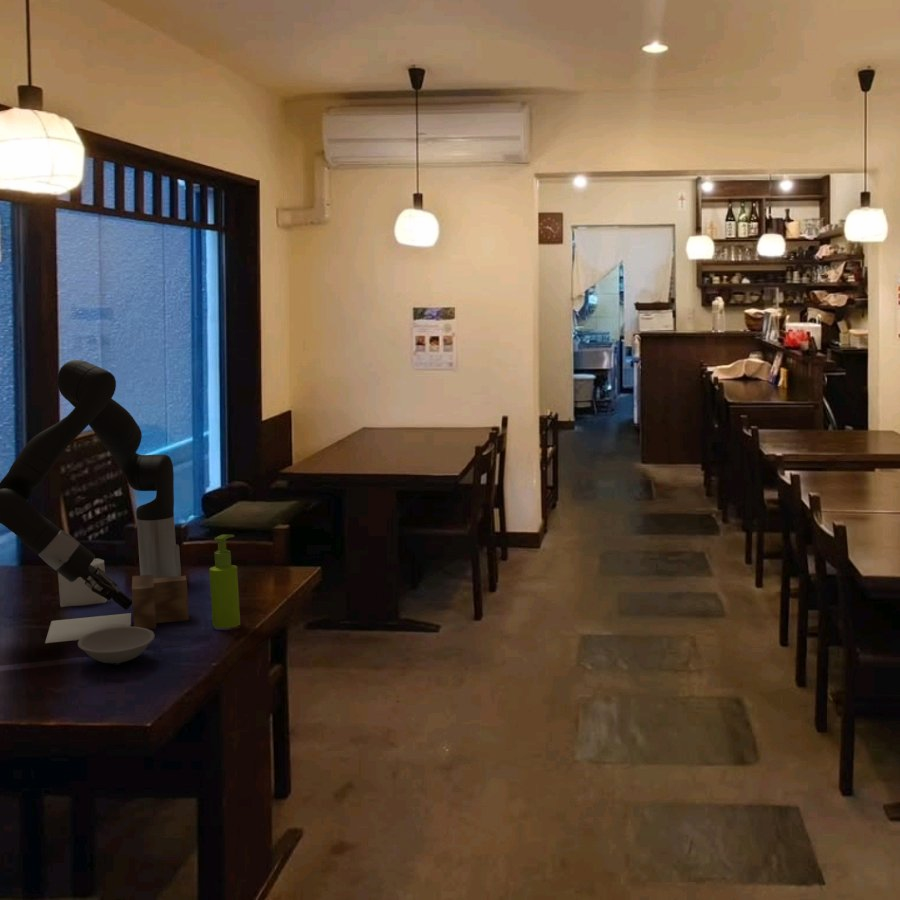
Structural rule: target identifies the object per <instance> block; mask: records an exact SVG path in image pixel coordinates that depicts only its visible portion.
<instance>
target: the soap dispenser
mask: <svg viewBox="0 0 900 900" xmlns="http://www.w3.org/2000/svg"><path fill="white" fill-rule="evenodd" d="M230 538H235V534H220V535H218V536H216V537H214V542H217V550H216V551H214V566H212V567H210V568H209V586H210V599H211V601H210V602H211V615H212V617H211V618H212V619H211V620H212V627H213V626H214V627H217V628H230V627H236V626H238V625H240V626H241V615H240V614H241V612H240V611H241V610H240V596H239V595H240V593H239V580H238V579H239V577H238V574H239V573H238V566H237V565H235V564H234V565H233V564H232V554H231V550H229V549H227V541H226V540H228V539H230Z"/></svg>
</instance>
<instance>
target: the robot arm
mask: <svg viewBox="0 0 900 900" xmlns="http://www.w3.org/2000/svg"><path fill="white" fill-rule="evenodd" d="M57 374H58V375H57V387H58V390H59V393H60V394H61V396H62V397H63V398H64V399H65V400H67V402H69V403H70V404H71V405H72V406H73V407H74V408H73V410H72V411H71V412H69V414H68V415H66V416H65V417H63V418H62V419H61V420H59V421H58V422H56V423H54V424H53V425H51V426H50V427H48V428H45V429H44V430H42V431H40V432H39V433H37V434H36V435H35V436H33V437H32V438H31V439H30V440H28V442H27V443H26V445H24V447H23V449H22V450H21V451H20V453H19V454H18V456H17V457H16V458H15V460H14V461H13V463H11V464H12V465H11V466H10V467H9V470H8V472H7V474H6V475H4V477H3V478H2V480H1V481H0V524H1V525H2V526H4V528H7V529H8V530H9V531H11V532H12V533H13V534H14V535H16V536H17V537H18V538H19V540H20V541H21V543H22V544H24V545H25V546H26V547H28V549H30V550H31V551H32V552H34V553H35V554H36V555H38V557H40V558H41V559H42V561H43V562H45V563H46V564H47V565H48V566H49V567H50V568H52V569H53V570H54V571H56V572H57V574H58V573H60V574H61V575H62V576H63V577H65V578H66V579H67V580H68V581H70V582H74V581H75V580H76V579H77V578H78V577H81V578H82V579H83V580H84V581H85V585H86V586H88V587H89V588H91V590H92V591H93V592H95V593H97V594H99V595H100V596H102V597H104V598H106V599H107V601H113V602H115V603H116V604H118V605H119V606H120V608H122V609H123V610H125V611H127V610H128V609H129V608H130V607H131V606H133V600H132V598H130V597H129V596H127V595H126V593H123V592H122V591H121V590H120V588H119V586H118V584H117V583H116V582H115V581H113V579H112V578H111V577H110V576H109V575H108V574H107V573H106V571H105V572H104V571H103V570H101V569H100V568H99V567H97V568H95V567H93V566H92V565H90V564H91V563H92V561H93V560H94V559H96V558H95V557H96V555H95V554H94V553H93V552H92V551H90V550H89V549H88V548H87V547H85V546H84V545H83V544H82V543H81V542H79V541H78V540H77V539H75V537H73V536H72V535H70V533H67V532H65V531H64V530H62V529H61V528H60V527H58V526H57V525H56V524H55V523H53V522H52V521H51V520H50V519H49V518H47V517H46V516H44V515H42V514H41V513H40V512H39V511H38V510H37V508H35V506H33V505H32V504H31V503H30V501H29V499H30V497H31V495H32V494H33V493H34V491H35V490H36V488H37V487H39V486H40V485H41V483H42V482H43V481H44V479H46V478H47V477H46V476H47V475H48V474H49V472H50V471H51V470H52V468H53V467H54V465H55V463H56V462H57V461H58V460H59V458H60V457H61V455H62V454H63V453H64V452H65V451H66V449H67V448H68V447H69V446H70V445H71V444H72V442H73V441H75V440H76V438H78V436H79V435H81V433H83V432H84V430H85V429H86V428H88V426H89V427H90V429H91V430H92V431H93V432H94V434H95V435H96V437H97V438H98V440H99V441H100V442H101V444H102V445H103V447H104V448H105V449H106V450H107V451H108V452H109V454H111V455H110V456H112V458H113V459H114V461H115V462H116V464H117V465H118V467H119V469H120V470H121V472H122V475H123V476H124V478H125V480H126V482H127V484H128V485H129V486H130V488H131V489H133V490H135V491H138V492H156V493H155V497H154V499H153V500H151V501H148V502H146V503H144V504H141V505H139V506H138V507H137V508H136V511H135V513H136V514H135V516H136V529H137V543H138V558H139V572H140V574H139V576H141V575H152V574H153V578H165V577H176V576H182V572H181V568H182V567H181V558H180V557H181V556H180V555H181V554H180V553H181V552H180V546H179V544H176V529H175V527H176V526H175V512H174V511H175V509H174V508H175V495H174V494H175V493H174V491H175V489H174V488H175V487H174V484H175V483H174V482H175V481H174V480H175V478H174V476H175V475H174V474H175V472H174V465H173V464H174V463H173V461H172V458H171V457H170V456H169V455H167V454H139V453H137V451H138V450H139V447H140V446H141V443H142V438H143V437H142V436H143V434H142V429H141V428H140V426H139V424H138V423H137V422H136V420H135V418H134V417H133V416H132V414H131V413H130V412H129V411H128V410H127V409H126V408H125V407H124V406H122V405H121V404H120V403H118V402H117V401H116V400H114V399H113V397H114V394H115V392H116V389H117V380H116V377H115V376H114V374H113V373H112V372H110V371H108V370H106V369H104V368H102V367H100V366H98V365H95V364H93V363H90V362H88V361H85V360H82V359H73V360H69V361H67V362H66V363H64V364H63V365H62V366H61V367H60V369H59V371H58V373H57Z"/></svg>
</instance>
